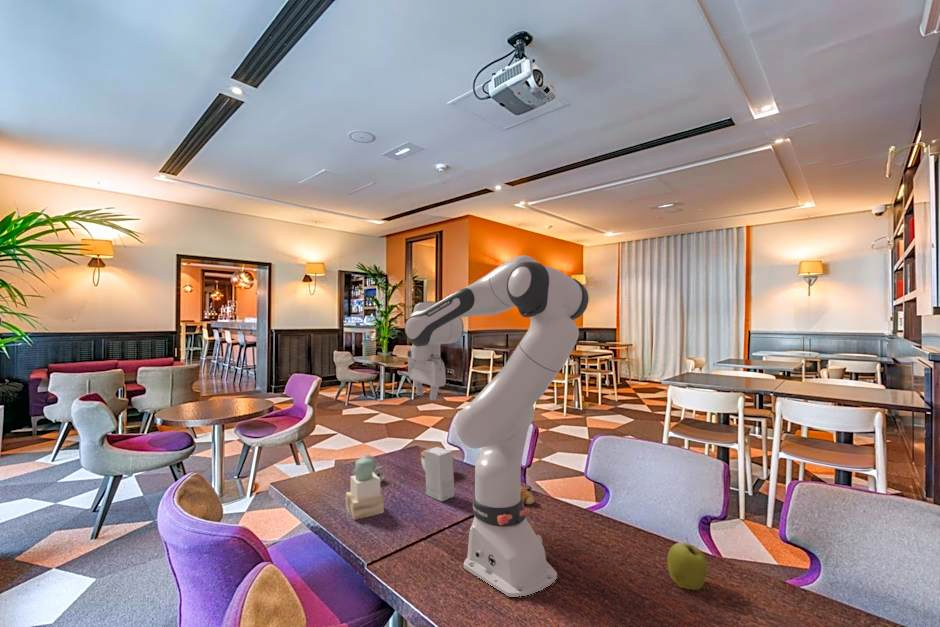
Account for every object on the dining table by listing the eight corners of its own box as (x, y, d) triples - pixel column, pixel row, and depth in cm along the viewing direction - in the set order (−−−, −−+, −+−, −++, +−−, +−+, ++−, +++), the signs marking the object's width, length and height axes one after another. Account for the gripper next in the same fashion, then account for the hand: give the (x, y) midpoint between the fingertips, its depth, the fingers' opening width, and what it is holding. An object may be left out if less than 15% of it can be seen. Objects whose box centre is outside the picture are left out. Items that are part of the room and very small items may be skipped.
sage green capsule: (374, 478, 126) (374, 462, 126) (358, 482, 123) (358, 465, 123) (369, 473, 130) (369, 457, 130) (353, 476, 128) (353, 460, 128)
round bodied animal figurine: (373, 493, 145) (380, 472, 144) (348, 475, 150) (355, 454, 149) (386, 485, 152) (393, 465, 150) (362, 468, 157) (368, 448, 155)
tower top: (380, 495, 126) (380, 478, 126) (357, 500, 122) (357, 483, 122) (372, 487, 132) (372, 471, 132) (350, 492, 128) (350, 476, 128)
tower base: (383, 513, 125) (383, 496, 125) (353, 520, 120) (353, 503, 120) (374, 502, 133) (374, 486, 133) (345, 508, 128) (345, 492, 128)
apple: (654, 575, 92) (664, 529, 93) (679, 577, 95) (688, 532, 96) (686, 597, 85) (696, 546, 86) (712, 599, 88) (721, 550, 89)
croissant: (538, 514, 131) (544, 487, 134) (524, 509, 124) (531, 481, 127) (483, 495, 144) (490, 471, 147) (468, 490, 137) (475, 465, 140)
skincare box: (454, 497, 136) (454, 451, 136) (440, 502, 132) (440, 455, 132) (438, 489, 142) (438, 445, 142) (424, 494, 138) (424, 449, 138)
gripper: (450, 355, 124) (450, 401, 124) (422, 350, 142) (422, 391, 142) (431, 356, 121) (431, 404, 121) (404, 351, 139) (404, 393, 139)
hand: (426, 397), depth 132 cm, fingers open, 8 cm apart
